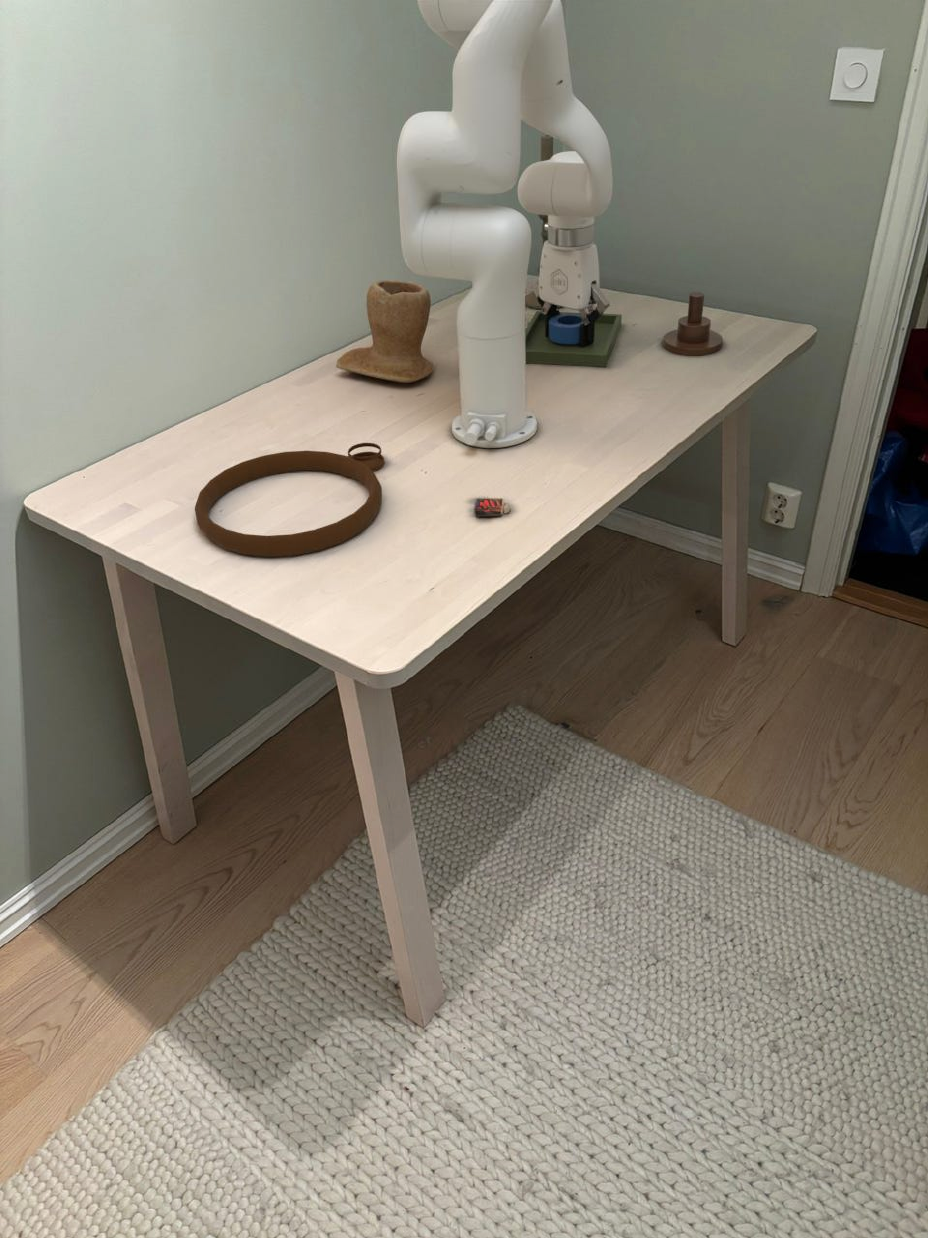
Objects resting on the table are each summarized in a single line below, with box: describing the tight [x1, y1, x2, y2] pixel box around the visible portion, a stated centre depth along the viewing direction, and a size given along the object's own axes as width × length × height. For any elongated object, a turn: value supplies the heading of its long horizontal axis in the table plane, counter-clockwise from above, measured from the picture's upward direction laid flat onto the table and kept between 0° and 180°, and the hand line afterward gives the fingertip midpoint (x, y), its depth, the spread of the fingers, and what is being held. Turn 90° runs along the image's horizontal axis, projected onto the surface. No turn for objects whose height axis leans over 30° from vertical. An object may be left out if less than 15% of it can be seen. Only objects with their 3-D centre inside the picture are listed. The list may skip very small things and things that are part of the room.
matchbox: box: [473, 496, 511, 517], centre depth 130 cm, size 5×5×1 cm
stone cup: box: [335, 279, 435, 384], centre depth 165 cm, size 15×12×15 cm
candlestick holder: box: [525, 134, 562, 311], centre depth 185 cm, size 9×9×30 cm
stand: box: [662, 291, 724, 357], centre depth 170 cm, size 10×10×9 cm
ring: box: [549, 312, 583, 344], centre depth 174 cm, size 7×7×3 cm
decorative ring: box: [194, 442, 386, 558], centre depth 133 cm, size 24×3×30 cm
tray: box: [525, 310, 623, 368], centre depth 175 cm, size 20×16×2 cm
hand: (569, 339), depth 175 cm, fingers closed on ring, 7 cm apart
